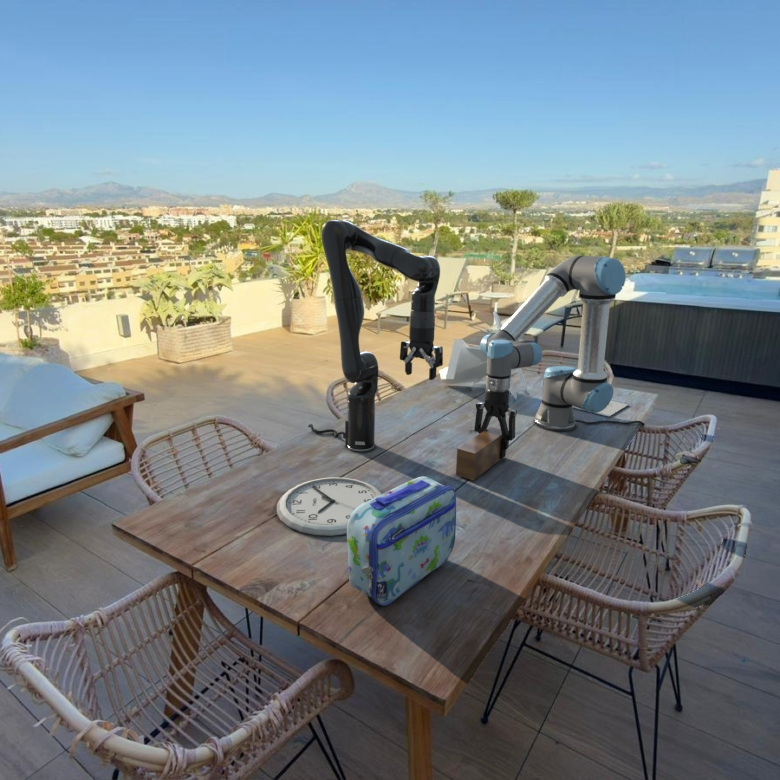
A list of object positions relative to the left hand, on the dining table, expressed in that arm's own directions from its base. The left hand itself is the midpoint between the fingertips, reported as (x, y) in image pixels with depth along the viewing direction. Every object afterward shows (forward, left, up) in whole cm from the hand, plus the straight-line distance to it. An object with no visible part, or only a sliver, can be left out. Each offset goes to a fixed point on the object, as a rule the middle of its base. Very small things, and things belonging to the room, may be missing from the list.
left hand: (420, 376), depth 162 cm
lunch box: (+25, -54, -29) cm, 66 cm away
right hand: (+20, +16, -28) cm, 38 cm away
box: (+19, +8, -28) cm, 35 cm away
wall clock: (-6, -37, -29) cm, 48 cm away
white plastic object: (-11, +82, -29) cm, 88 cm away
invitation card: (+41, +92, -29) cm, 105 cm away
